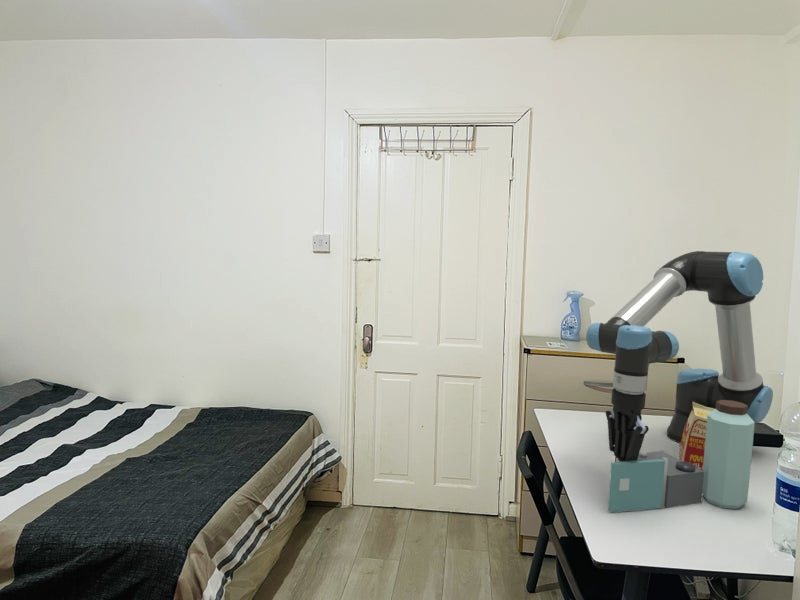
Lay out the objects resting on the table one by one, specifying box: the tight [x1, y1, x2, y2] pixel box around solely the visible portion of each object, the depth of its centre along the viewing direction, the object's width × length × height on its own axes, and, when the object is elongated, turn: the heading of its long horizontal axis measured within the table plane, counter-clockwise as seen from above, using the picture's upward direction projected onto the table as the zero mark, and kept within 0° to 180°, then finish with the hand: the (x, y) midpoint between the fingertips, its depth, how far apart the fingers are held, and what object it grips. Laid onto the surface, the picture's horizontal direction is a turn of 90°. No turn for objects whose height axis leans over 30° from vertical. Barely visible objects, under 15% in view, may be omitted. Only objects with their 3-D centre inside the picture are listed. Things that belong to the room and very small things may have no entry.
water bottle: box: [702, 400, 756, 510], centre depth 138 cm, size 10×10×25 cm
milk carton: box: [678, 402, 714, 471], centre depth 156 cm, size 9×9×20 cm
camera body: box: [634, 450, 704, 508], centre depth 143 cm, size 11×14×9 cm
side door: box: [607, 457, 668, 513], centre depth 133 cm, size 15×2×12 cm, turn 102°
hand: (620, 483), depth 137 cm, fingers closed
